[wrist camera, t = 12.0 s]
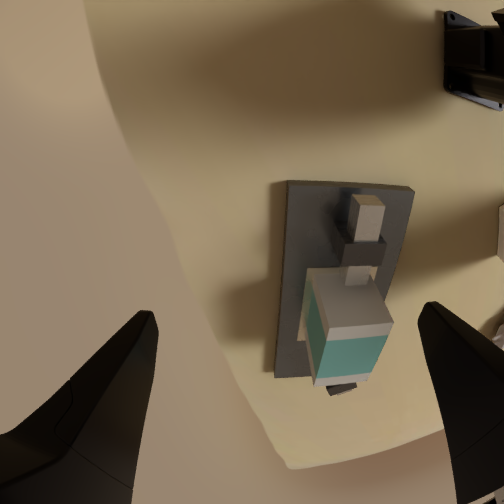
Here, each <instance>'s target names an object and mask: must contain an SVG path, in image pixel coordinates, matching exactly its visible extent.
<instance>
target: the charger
mask: <svg viewBox="0 0 504 504" xmlns="http://www.w3.org/2000/svg"><path fill="white" fill-rule="evenodd" d="M492 341H494V344H495V345H497V346H498V347H499V348H501V349H503V348H504V324H503V325H501V326H500V327H499V329H498V331H497V333H496V335H495V337H493V338H492Z"/></svg>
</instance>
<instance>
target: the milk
mask: <svg viewBox="0 0 504 504" xmlns="http://www.w3.org/2000/svg"><path fill="white" fill-rule="evenodd" d="M497 256H498V257H499V258H500V259H501V260H502V261H503V262H504V205H502V206H500V207H499V235H498V250H497Z"/></svg>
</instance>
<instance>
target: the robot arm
mask: <svg viewBox="0 0 504 504" xmlns="http://www.w3.org/2000/svg"><path fill="white" fill-rule="evenodd" d="M491 14H492V16H493V18H494V20H495V21H497V23H498V25H499V26H481V25H479V24H477V23H475V22H474V21H472V20H470V19H468V18H466V17H464V16H461V15H459V14H457V13H455V12H453V11H446V12H445V13H444V25H445V32H444V62H445V66H444V88H445V90H446V91H447V92H449V93H452V94H455V95H458V96H461V97H464V98H467V99H469V100H472V101H475V102H477V103H480V104H483V105H485V106H488V107H490V108H493V109H495V110H498V111H503V109H504V8H503V9H500V10H497V11H494V12H491ZM450 15H451V17H452V19H451V18H450ZM450 84H451V86H452V87H451V89H450V87H449V85H450ZM498 104H499V106H498ZM418 329H419V333H420V337H421V341H422V346H423V350H424V355H425V359H426V363H427V366H428V370H429V373H430V376H431V379H432V383H433V386H434V390H435V393H436V397H437V401H438V404H439V408H440V412H441V416H442V420H443V424H444V429H445V433H446V437H447V442H448V447H449V452H450V457H451V464H452V470H453V475H454V482H455V490H456V498H457V504H468V503H470V502H473V501H475V500H477V499H479V498H482V497H484V496H486V495H488V494H490V493H492V492H494V495H495V496H494V497H493V498H491V499H490V500H488V501H487V502H485V503H483V504H504V351H503V350H502V349H501V348H499V347H498V346H497V345H495V344H494V343H493V342H492V341H490V340H489V339H488V338H486V337H485V336H484V335H482V334H481V333H480V332H478V331H477V330H476V329H474V328H473V327H472V326H470V325H469V324H467V323H466V322H465V321H463V320H462V319H461V318H459V317H458V316H456V315H455V314H454V313H452V312H451V311H450V310H448V309H447V308H445V307H444V306H442V305H441V304H440V303H438V302H436V301H433V302H427V303H426V304H425V305H424V307H423V309H422V312H421V314H420V316H419V318H418ZM158 336H159V331H158V327H157V323H156V320H155V317H154V314H153V312H152V311H148V310H147V311H146V310H140V311H138V312H137V313H136V314H135V315H134V316H133V317H132V318H131V319H130V320H129V321H128V322H127V323H126V324H125V325H124V326H123V327H122V328H121V329H120V330H118V331H117V332H116V333H115V334H114V335H113V336H112V337H111V338H110V339H109V340H108V341H107V342H106V343H105V344H104V345H103V346H102V347H101V348H100V349H99V350H98V351H97V352H96V353H95V354H94V355H93V356H92V357H91V358H90V359H89V360H88V361H87V362H86V363H85V364H84V365H83V366H82V367H81V368H80V369H79V370H78V371H77V372H76V373H75V374H74V375H73V376H72V377H71V378H70V380H68V381H67V382H66V383H65V384H64V385H63V386H62V387H61V388H60V389H59V390H58V391H57V392H56V393H55V394H54V395H53V396H52V397H51V398H49V399H48V400H47V401H46V402H45V403H44V404H43V405H41V406H40V407H39V408H38V409H37V410H36V411H34V412H33V413H32V414H31V415H30V416H29V417H27V418H26V419H25V420H24V421H23V422H21V423H20V424H19V425H18V426H17V427H15V428H14V429H13V430H11V431H9V432H7V433H4V434H1V435H0V504H131V501H132V493H133V490H132V489H133V486H134V479H135V473H136V466H137V460H138V455H139V448H140V443H141V438H142V432H143V427H144V422H145V416H146V411H147V407H148V402H149V397H150V393H151V388H152V383H153V378H154V371H155V362H156V352H157V344H158Z"/></svg>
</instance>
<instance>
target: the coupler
mask: <svg viewBox="0 0 504 504" xmlns="http://www.w3.org/2000/svg"><path fill="white" fill-rule="evenodd" d="M393 323H394V321H393V319H392V317H391V315H390V313H389V311H388V309H387V307H386V305H385V303H384V300H383V298H382V296H381V294H380V292H379V290H378V288H377V286H376V285H375V283H374V281H373V279H372V277H371V275H369V278H368V282H367V285H350V286H344V283H343V281H342V278H341V276H340V273H334V274H314V280H313V287H312V294H311V300H310V307H309V313H308V319H307V325H306V331H305V340H306V346H307V351H308V357H309V362H310V368H311V374H312V380H313V386H314V387H318V386H328V385H338V384H346V383H354V382H362V381H367V379H368V378H369V376H370V374H371V372H372V370H373V368H374V365H375V363H376V361H377V359H378V357H379V355H380V353H381V351H382V349H383V346H384V344H385V342H386V340H387V337H388V335H389V333H390V330H391V328H392V326H393Z"/></svg>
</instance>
